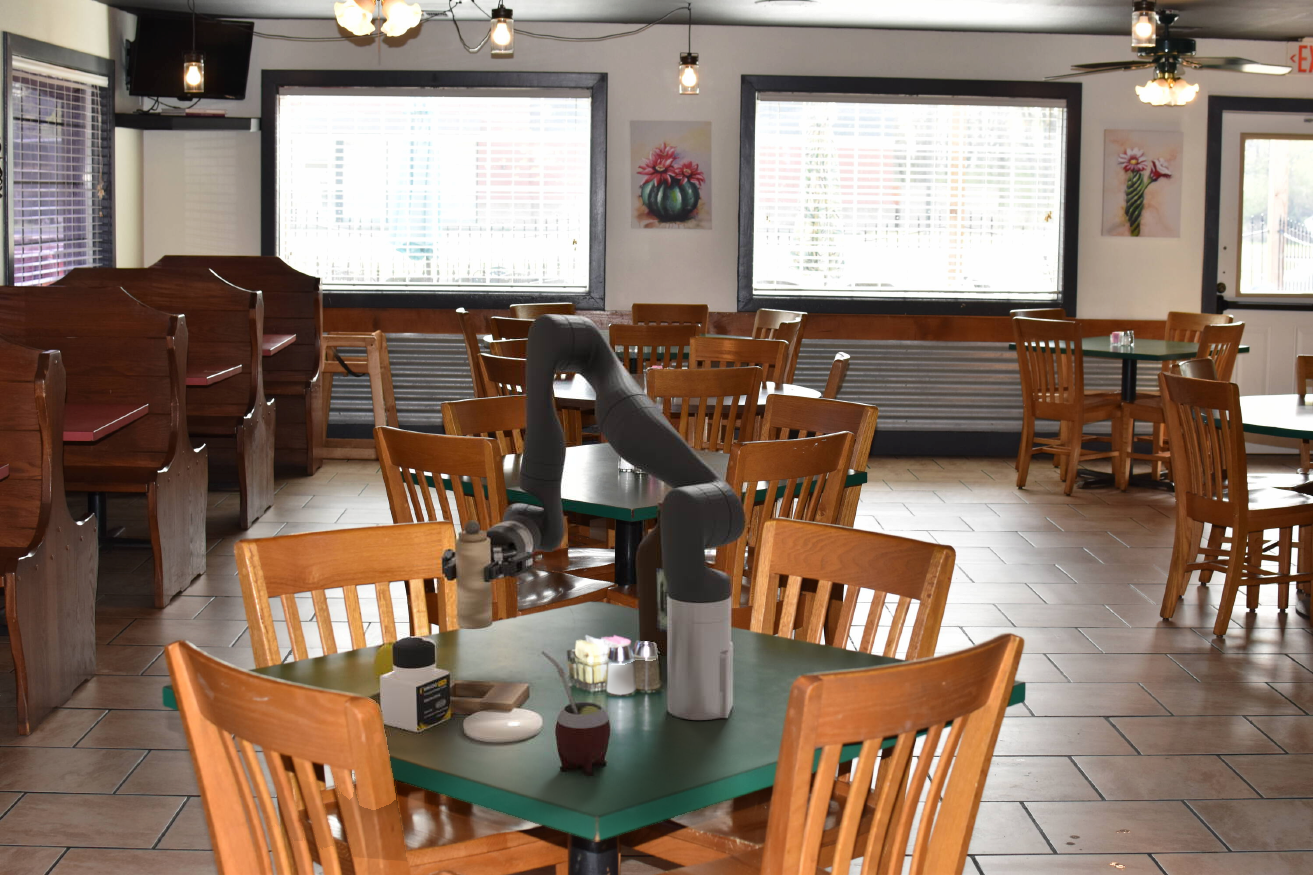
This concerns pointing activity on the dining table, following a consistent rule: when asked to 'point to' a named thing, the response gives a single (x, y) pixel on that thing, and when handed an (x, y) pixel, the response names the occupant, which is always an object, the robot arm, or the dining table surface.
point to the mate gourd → (581, 732)
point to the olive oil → (652, 588)
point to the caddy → (486, 696)
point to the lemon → (384, 661)
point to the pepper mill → (473, 578)
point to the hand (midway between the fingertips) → (468, 574)
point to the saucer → (502, 725)
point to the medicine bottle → (415, 687)
